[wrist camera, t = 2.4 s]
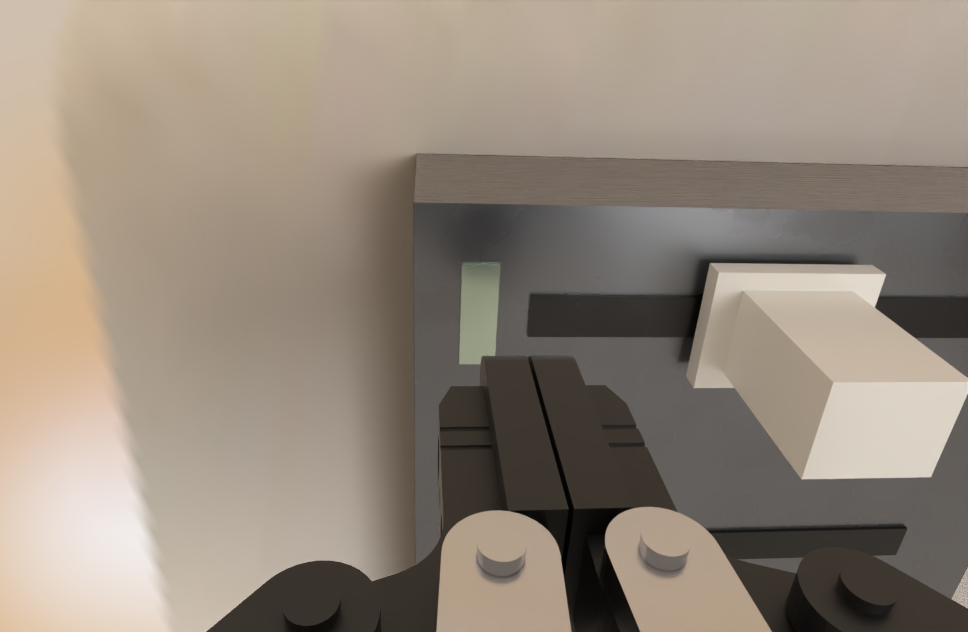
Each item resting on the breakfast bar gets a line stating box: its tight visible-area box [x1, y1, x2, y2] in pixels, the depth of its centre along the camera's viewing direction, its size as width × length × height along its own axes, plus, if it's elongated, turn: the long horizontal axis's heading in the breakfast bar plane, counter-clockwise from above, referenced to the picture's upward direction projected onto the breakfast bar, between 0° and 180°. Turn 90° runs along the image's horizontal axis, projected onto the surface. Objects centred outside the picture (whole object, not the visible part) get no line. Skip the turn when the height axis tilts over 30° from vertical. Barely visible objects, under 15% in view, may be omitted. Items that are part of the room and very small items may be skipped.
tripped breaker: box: [686, 263, 968, 479], centre depth 13 cm, size 4×3×4 cm
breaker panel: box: [413, 154, 968, 599], centre depth 20 cm, size 16×19×4 cm
